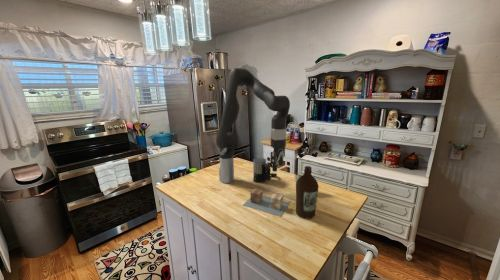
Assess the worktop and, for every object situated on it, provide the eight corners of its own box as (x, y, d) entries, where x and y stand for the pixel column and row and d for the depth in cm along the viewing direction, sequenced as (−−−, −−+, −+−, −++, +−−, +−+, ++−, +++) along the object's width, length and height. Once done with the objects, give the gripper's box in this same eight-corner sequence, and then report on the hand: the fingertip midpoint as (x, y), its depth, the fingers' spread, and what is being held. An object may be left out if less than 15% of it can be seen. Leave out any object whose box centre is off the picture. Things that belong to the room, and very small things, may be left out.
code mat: (242, 205, 113) (242, 205, 113) (254, 193, 125) (254, 193, 125) (281, 216, 103) (281, 216, 103) (289, 202, 115) (289, 202, 115)
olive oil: (291, 209, 109) (293, 164, 103) (309, 206, 111) (312, 162, 105) (300, 221, 99) (303, 172, 93) (320, 218, 101) (324, 170, 95)
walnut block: (250, 202, 116) (250, 192, 114) (254, 197, 120) (254, 188, 118) (258, 204, 113) (258, 194, 112) (262, 200, 118) (262, 190, 116)
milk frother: (250, 181, 142) (250, 160, 139) (261, 173, 155) (261, 154, 152) (269, 185, 135) (269, 164, 131) (279, 177, 148) (279, 157, 144)
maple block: (270, 207, 110) (270, 197, 109) (274, 203, 114) (274, 193, 113) (279, 210, 108) (279, 199, 106) (282, 205, 112) (283, 195, 110)
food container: (291, 191, 127) (292, 176, 125) (294, 187, 132) (294, 172, 130) (312, 196, 121) (313, 180, 119) (314, 191, 127) (315, 176, 124)
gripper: (276, 133, 110) (275, 162, 114) (265, 139, 97) (265, 172, 101) (290, 135, 106) (289, 164, 110) (280, 141, 94) (279, 174, 98)
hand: (277, 168), depth 106 cm, fingers open, 8 cm apart
